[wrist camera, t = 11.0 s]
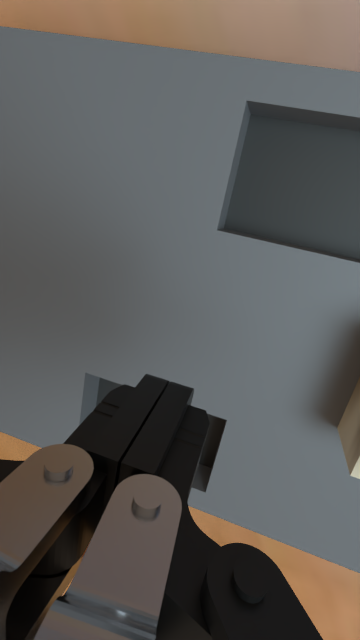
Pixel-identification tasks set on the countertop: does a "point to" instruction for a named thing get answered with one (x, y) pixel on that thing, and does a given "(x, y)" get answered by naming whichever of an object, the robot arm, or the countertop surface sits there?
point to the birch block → (351, 432)
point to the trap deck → (188, 263)
